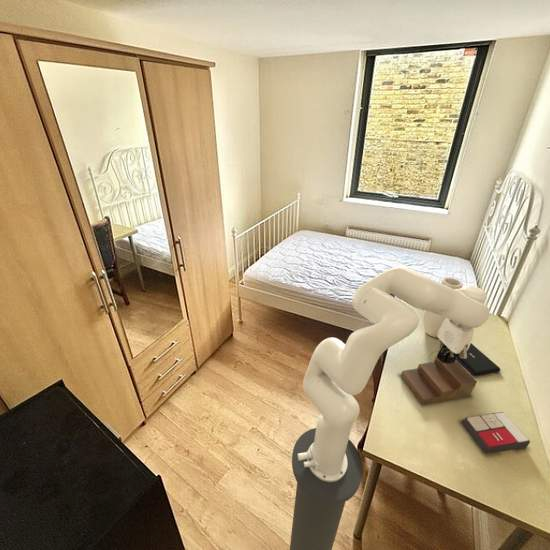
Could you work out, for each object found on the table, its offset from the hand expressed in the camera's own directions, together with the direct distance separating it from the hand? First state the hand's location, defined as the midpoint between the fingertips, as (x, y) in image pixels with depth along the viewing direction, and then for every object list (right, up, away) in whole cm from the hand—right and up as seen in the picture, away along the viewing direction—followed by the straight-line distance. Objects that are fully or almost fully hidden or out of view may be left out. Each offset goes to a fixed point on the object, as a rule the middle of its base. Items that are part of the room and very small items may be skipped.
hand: (445, 358), depth 109 cm
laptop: (+23, -6, +21) cm, 32 cm away
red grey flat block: (+10, -23, -10) cm, 27 cm away
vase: (+15, +2, +36) cm, 39 cm away
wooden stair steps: (0, -13, +8) cm, 15 cm away
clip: (0, 0, 0) cm, 0 cm away
